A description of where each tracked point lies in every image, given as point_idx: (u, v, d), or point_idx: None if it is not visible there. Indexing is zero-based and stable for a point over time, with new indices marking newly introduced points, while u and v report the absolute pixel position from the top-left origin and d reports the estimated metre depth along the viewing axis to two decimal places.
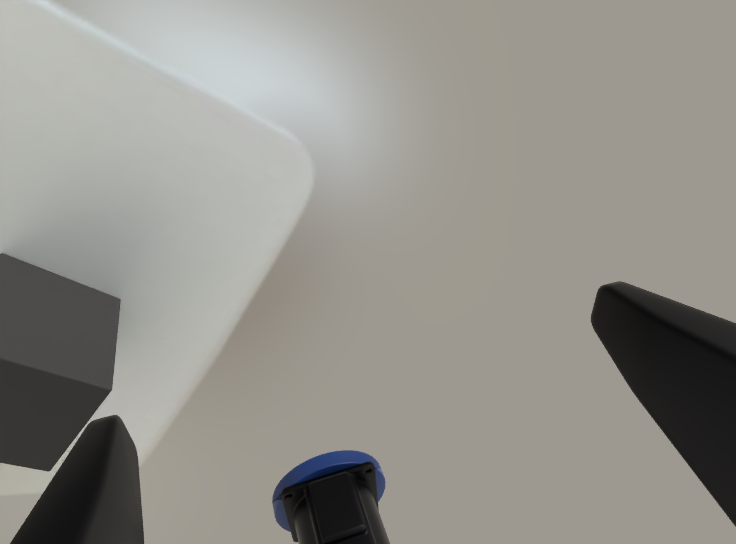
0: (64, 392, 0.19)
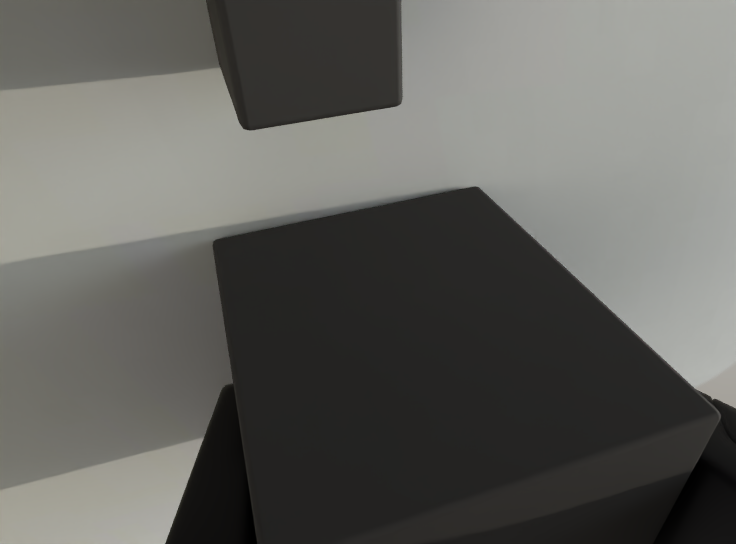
0: None
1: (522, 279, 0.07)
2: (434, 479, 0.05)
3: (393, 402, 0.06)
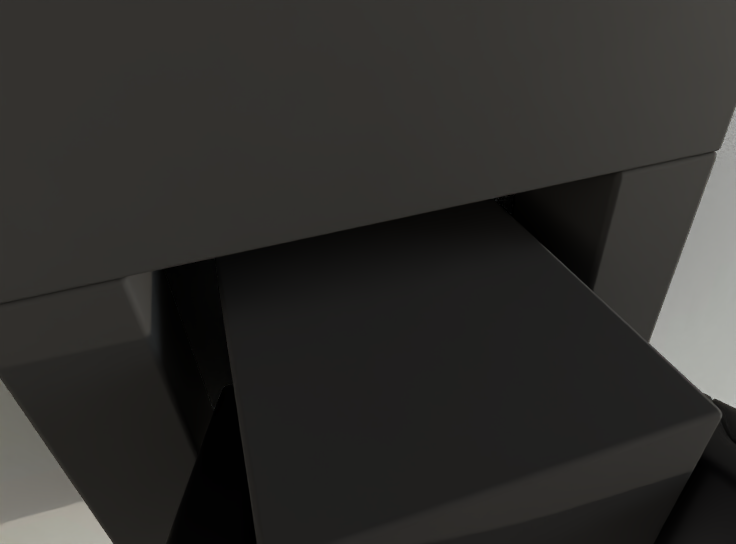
0: None
1: (523, 278, 0.07)
2: (436, 478, 0.05)
3: (393, 402, 0.06)
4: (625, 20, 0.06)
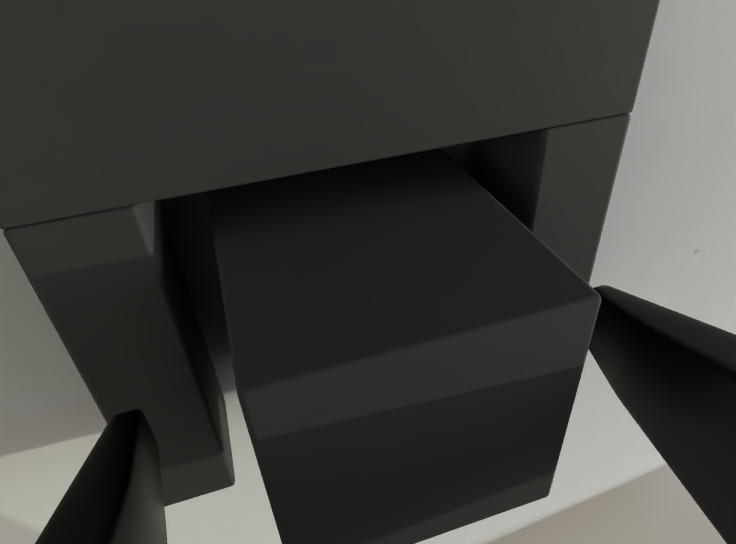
0: (525, 466, 0.09)
1: (462, 210, 0.09)
2: (372, 338, 0.07)
3: (346, 293, 0.07)
4: None
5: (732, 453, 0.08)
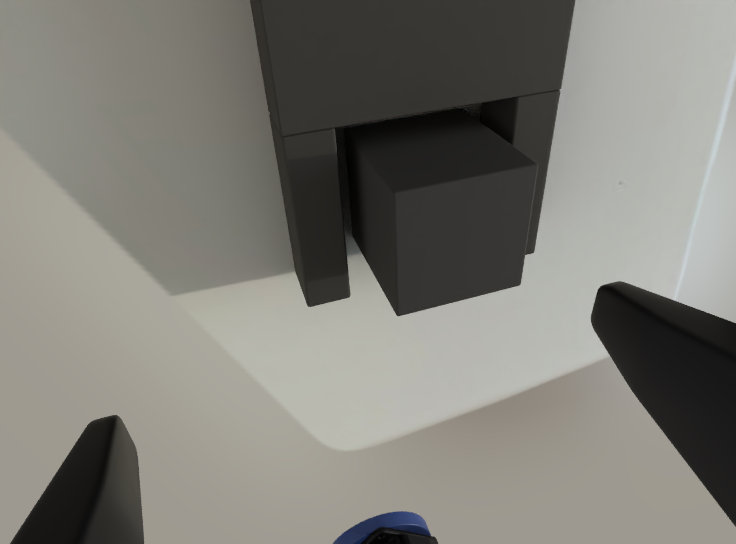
0: (507, 259, 0.18)
1: (477, 136, 0.18)
2: (442, 177, 0.16)
3: (428, 165, 0.17)
4: (511, 37, 0.17)
5: None
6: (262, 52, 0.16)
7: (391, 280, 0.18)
